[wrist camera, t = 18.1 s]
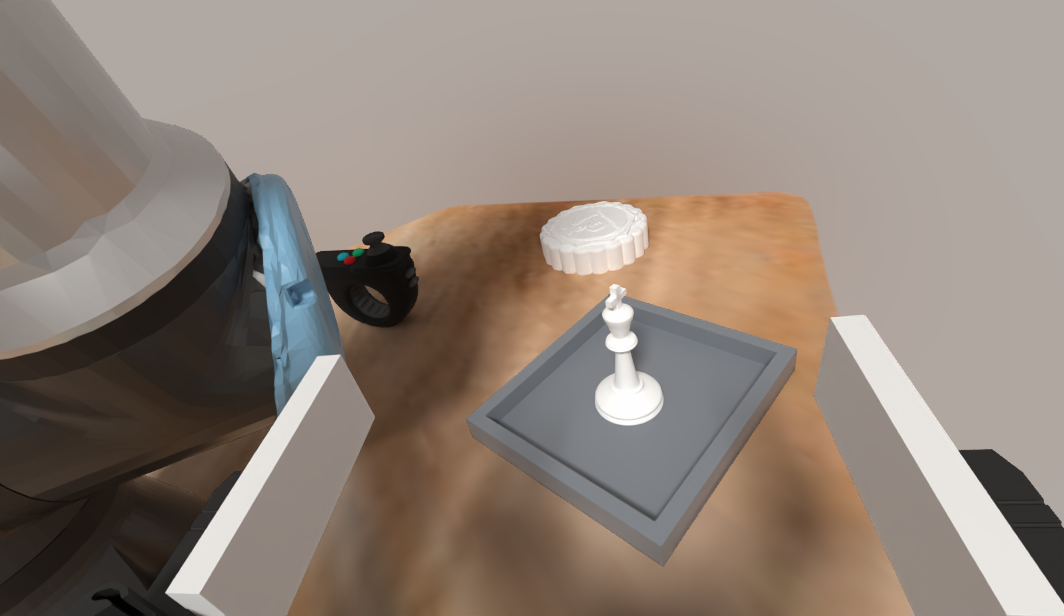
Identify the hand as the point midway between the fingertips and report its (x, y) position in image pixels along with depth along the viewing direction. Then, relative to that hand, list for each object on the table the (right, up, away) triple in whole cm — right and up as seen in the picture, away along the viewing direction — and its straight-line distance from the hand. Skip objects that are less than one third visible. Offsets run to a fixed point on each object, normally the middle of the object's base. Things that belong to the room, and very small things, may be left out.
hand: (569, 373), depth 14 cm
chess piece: (+6, -5, +23) cm, 24 cm away
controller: (-17, 0, +40) cm, 43 cm away
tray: (+6, -5, +23) cm, 24 cm away
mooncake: (+6, +8, +44) cm, 45 cm away
